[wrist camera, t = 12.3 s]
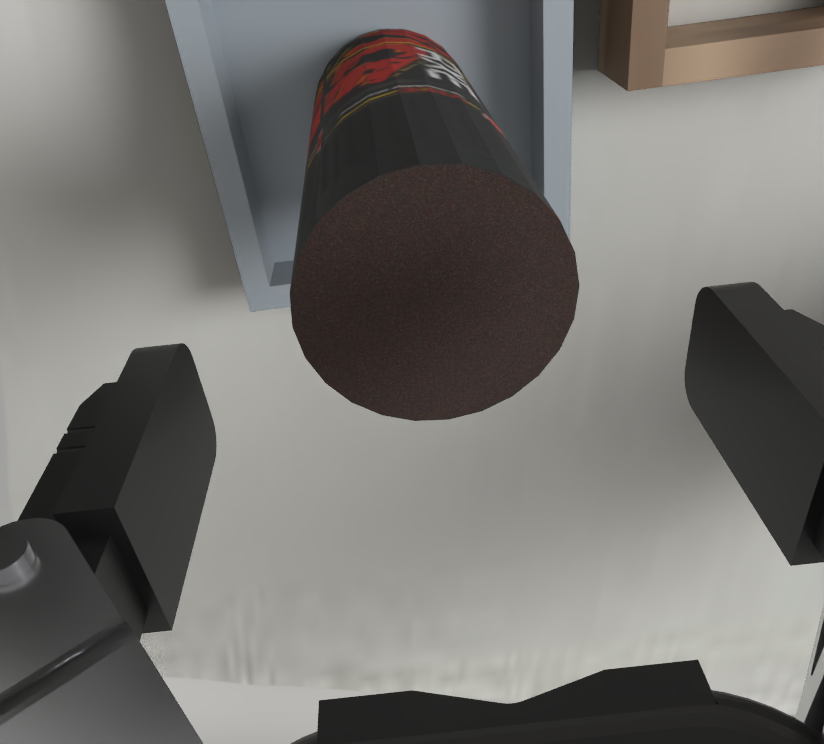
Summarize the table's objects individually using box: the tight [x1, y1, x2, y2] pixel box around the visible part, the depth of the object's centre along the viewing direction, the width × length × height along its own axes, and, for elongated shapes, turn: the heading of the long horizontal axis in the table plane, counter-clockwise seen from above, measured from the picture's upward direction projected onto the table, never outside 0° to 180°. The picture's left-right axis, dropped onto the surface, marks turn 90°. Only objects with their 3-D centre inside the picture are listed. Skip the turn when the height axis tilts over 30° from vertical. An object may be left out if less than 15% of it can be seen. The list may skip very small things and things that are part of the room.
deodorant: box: [290, 29, 579, 421], centre depth 21 cm, size 6×6×15 cm
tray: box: [165, 0, 574, 312], centre depth 26 cm, size 13×13×3 cm
